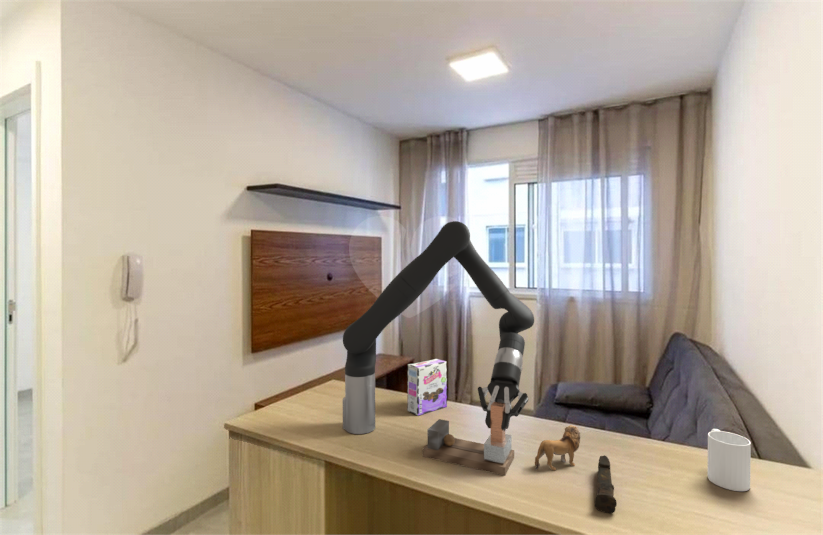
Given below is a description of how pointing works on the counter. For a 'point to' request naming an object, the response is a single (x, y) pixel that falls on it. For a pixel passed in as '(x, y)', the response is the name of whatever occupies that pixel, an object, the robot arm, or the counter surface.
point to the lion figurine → (560, 447)
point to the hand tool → (605, 487)
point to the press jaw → (497, 436)
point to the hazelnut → (449, 440)
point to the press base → (461, 451)
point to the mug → (729, 460)
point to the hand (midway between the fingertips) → (496, 427)
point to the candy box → (427, 386)
